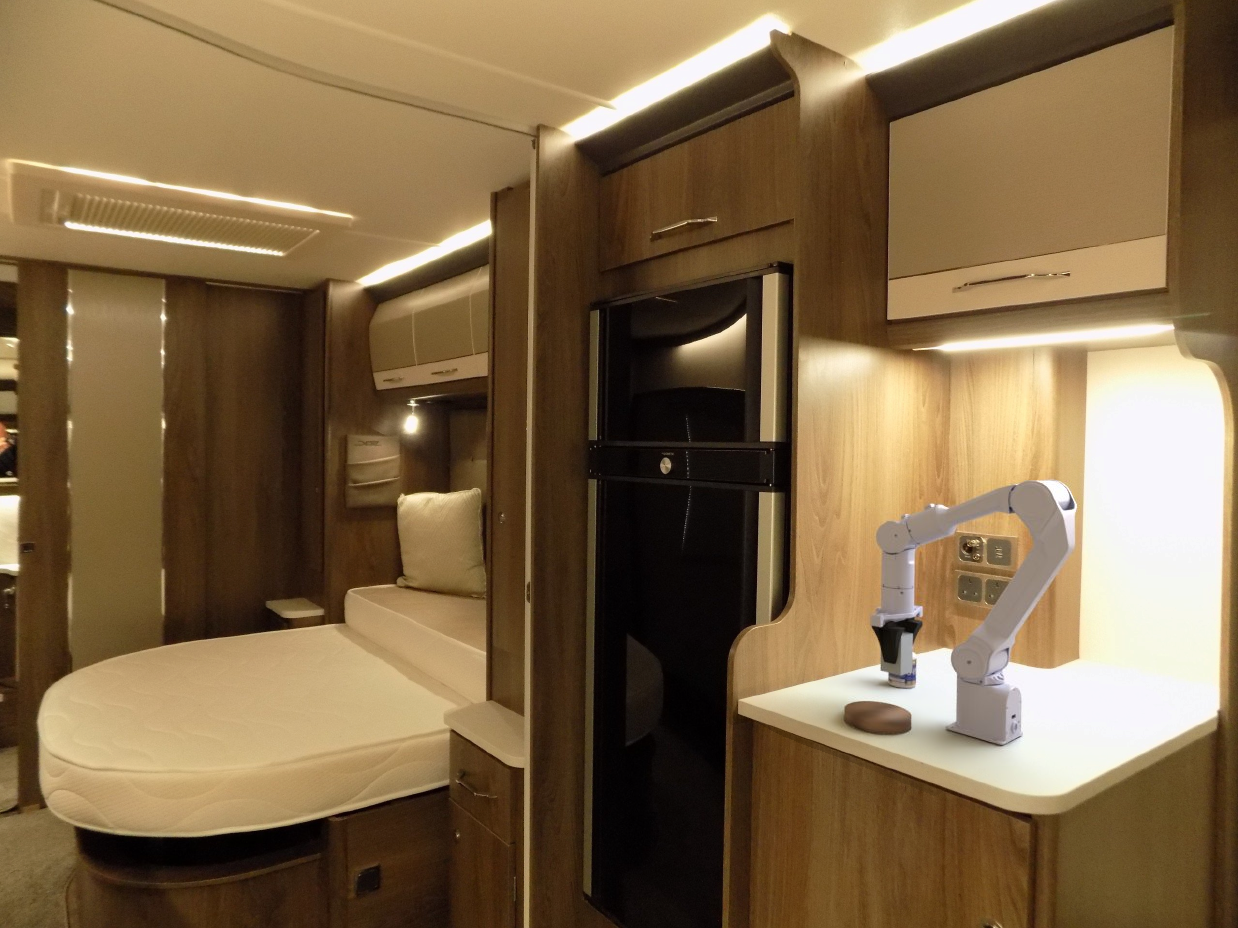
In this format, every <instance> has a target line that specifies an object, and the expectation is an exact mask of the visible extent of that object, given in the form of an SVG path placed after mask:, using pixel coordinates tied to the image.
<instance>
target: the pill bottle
mask: <svg viewBox="0 0 1238 928" xmlns="http://www.w3.org/2000/svg"><path fill="white" fill-rule="evenodd" d="M887 674H888V677H887V678H888V679H887V680H888V681H887V682H888V684H889V685H890V686H893V687H895V688H901V689H913V688H915V687H916V685H917V654H916V653H915V652H914V651H913V661H912V672H910V673H907V674H904V675H901V676H900V675H896V674H892V673H888V672H887Z"/></svg>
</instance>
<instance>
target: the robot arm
mask: <svg viewBox="0 0 1238 928" xmlns="http://www.w3.org/2000/svg"><path fill="white" fill-rule="evenodd" d="M923 508H924V509H922V510H920V511H918V512H915V513H912V514H909V513H905V514H902V515H901V516H900V518H901V519H900V520H886V521H885V522H884V523H882V524H881V525H880V526H878V528H877V531H876V533H875V534H876V535H875V539H876V543H877V546H878V547H879V548H880V549H881V565H880V566H881V567H880V568H881V570H880V572H881V575H880V606H877V607H875V612H874V613H872V614H870V621H869V624H870V626H871V628H872V631H873V632H874V634H875V636H876V638H877V641H878V644H879V648H880V653H881V652H882V656H883V660H884V662H887V663H891V664H896V661H897V657H898V648H899V642H900V639H901V636H902V633H903V632H908V633H913V645H914V644H915V641H916V638H917V635H918V634H919V632H920V630H921V628H922V627H923V625H924V624H923V621H922V620H920V619H916V617H917V618H921V617H923V616H924V615H923V613H924V612H923V611H924V609H923V608H924V607H923V606H921V605H916V604H915V571H916V569H915V567H916V565H915V558H916V555H915V554H916V550H917V548H918V547H922V546H923V545H924V546H925V545H927V544H930V543H934V542H936V541H940V540H941V539H942V540H943V539H945V538H948V537H951V536H953V535H954V534H955V532H956V530H957V527H958V525H959V526H960V525H961V524H964V523H968V522H972V521H974V520H978V519H981V518H983V517H986V516H989V515H990V516H991V515H993V514H996V513H1004V514H1008V515H1010V514H1011V515H1012V514H1015V515H1016V516H1017V517H1018V519H1020V521H1021V522H1022V523H1023V524H1024V526H1025V527H1026V528H1027V529H1028V532H1029V534H1030V537H1031V540H1032V541H1033V546H1032V548H1031V549H1030V551H1029V552H1028V553H1027V555H1026V556H1025V558H1023V559H1024V560H1023V561H1022V563H1021V564H1020V566H1019V567H1018V569H1017V571H1016V572H1015V573H1014V575H1013V577H1012V578H1011V579H1010V580H1009V582H1008V584H1007V585H1006V586H1005V588H1004V590H1003V592H1002V593H1001V594H1000V596H999V598H998V599H997V601H996V602H995V603H994V605H993V606H992V608H991V610H990V611H989V613H988V614H987V616H986V618H985V619H984V620H983V622H982V623H981V624H980V625H979V626H978V627H977V628H976V629H974V630H973V631H972V632H971V634H970V635H969V636H968V638H967V639H966V640H964V642H961V643H959V644H957V645H956V646H954V648H953V650H952V651H951V655H950V663H951V666H952V668H953V671H954V672H955V673H956V709H955V710H956V711H955V713H956V714H955V715H956V716H955V717H956V718H955V721H953V722H952V723H950V724H947V725H946V726H945V729H946V730H948V731H952V732H955V733H959V734H962V735H966V736H969V737H973V738H976V739H979V740H982V741H986V742H989V743H992V744H997V745H1000V746H1004V745H1005V744H1008V743H1010V742H1012V741H1013V740H1015V739H1017V738H1018V737H1020V736H1022V735H1023V734H1024V732H1023V731H1022V694H1021V691H1020V689H1019V688H1018V687H1017V686H1014V685H1011V684H1009V683H1007V682H1006V681H1005V675H1004V673H1003V670H1004V669H1006V668H1007V666H1008V665H1009V662H1010V660H1011V651H1012V648H1013V646H1014V644H1015V643H1016V635H1017V633H1019V631H1020V629H1021V628H1022V626H1023V625H1024V623H1025V622H1026V620H1027V619H1028V618H1029V616H1030V615H1031V613H1032V612H1033V611H1034V609H1035V608H1036V606H1037V605H1038V602H1039V601H1040V600H1041V598H1042V597H1043V596H1044V594H1045V592H1047V590H1048V588H1049V586H1050V585H1051V584H1052V582H1053V581H1054V579H1055V578H1056V576H1057V575H1058V573H1060V571H1061V569H1062V568H1063V567H1064V565H1065V563H1066V562H1067V560H1068V559H1069V557H1070V556H1071V555H1072V554H1073V552H1074V549H1075V547H1076V519H1075V518H1076V512H1077V508H1078V505H1077V502H1076V501H1075V499H1074V496H1073V494H1072V492H1071V490H1070V489H1069V487H1068V486H1067V485H1066V484H1064V483H1063V482H1061V481H1059V480H1056V479H1050V478H1049V479H1045V480H1043V479H1042V480H1034V479H1033V480H1023V481H1021V482H1020V483H1017V484H1010V485H1005V486H1001V487H998V488H995V489H993V490H991V491H988V492H986V493H982V494H981V495H979V496H976V497H974V498H971V499H969V500H966V501H964V502H961V503H958V504H956V505H954V506H952V507H951V506H950V507H947V506H945V505H943V504H936V505H935V503H929V504H926V505H924V506H923Z"/></svg>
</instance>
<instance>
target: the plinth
mask: <svg viewBox="0 0 1238 928" xmlns="http://www.w3.org/2000/svg"><path fill="white" fill-rule="evenodd" d="M843 710H844V715H843V716H844V722H845V723H846V724H847V726H849V727H851V728H853V729H856V730H858V731H862V732H865V733H871V734H876V735H891V736H892V735H901V734H905V733H907V732H908V733H909V732H910V730H912V715H913V714H912V713H911V712H910V710H907V708H904V707H902V706H899V705H896V704H892V703H888V702H883V701H874V700H867V701H866V700H860V701H859V700H858V701H853V702H850V703H847V704H846V705H845V706H844V709H843Z"/></svg>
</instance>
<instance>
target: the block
mask: <svg viewBox="0 0 1238 928" xmlns="http://www.w3.org/2000/svg"><path fill="white" fill-rule="evenodd" d="M913 650H914V644H913V633H908V632H903V633H902V636H901V639H900V642H899V648H898V657H897V661H896V664H891V663H887V662H884V660H883V656H882V652H881V651H880V671H881V672H885V673H887V674H888V673H892V674H896V675H900V676H901V675H904V674H907V673H910V672H912V661H913V652H914V651H913Z"/></svg>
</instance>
